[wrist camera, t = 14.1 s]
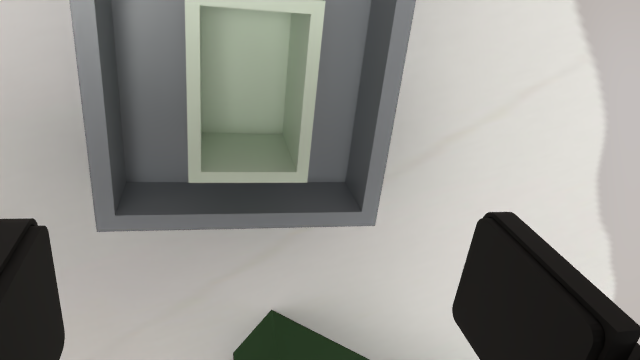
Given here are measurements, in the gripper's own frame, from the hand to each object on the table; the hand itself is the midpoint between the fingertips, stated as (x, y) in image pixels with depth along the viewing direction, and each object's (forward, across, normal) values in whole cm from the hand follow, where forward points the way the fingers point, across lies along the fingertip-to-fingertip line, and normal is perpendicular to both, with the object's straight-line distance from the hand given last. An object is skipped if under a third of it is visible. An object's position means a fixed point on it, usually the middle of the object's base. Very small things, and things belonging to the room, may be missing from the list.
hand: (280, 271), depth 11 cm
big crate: (+20, -1, 0) cm, 20 cm away
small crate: (+19, -1, 0) cm, 19 cm away
